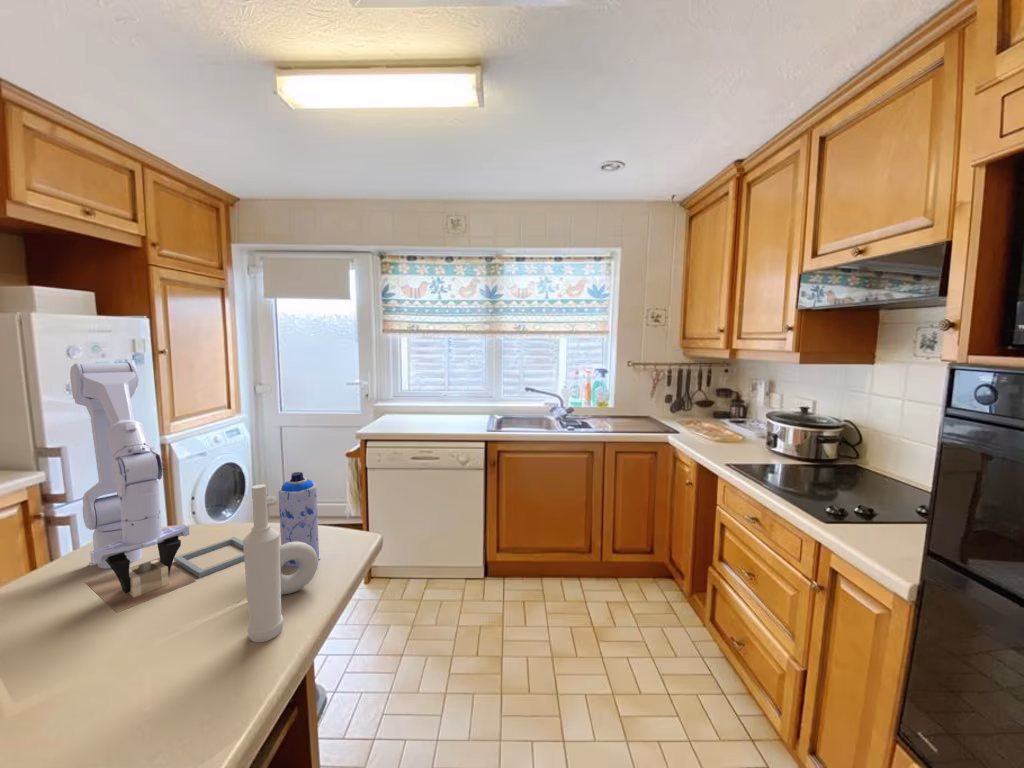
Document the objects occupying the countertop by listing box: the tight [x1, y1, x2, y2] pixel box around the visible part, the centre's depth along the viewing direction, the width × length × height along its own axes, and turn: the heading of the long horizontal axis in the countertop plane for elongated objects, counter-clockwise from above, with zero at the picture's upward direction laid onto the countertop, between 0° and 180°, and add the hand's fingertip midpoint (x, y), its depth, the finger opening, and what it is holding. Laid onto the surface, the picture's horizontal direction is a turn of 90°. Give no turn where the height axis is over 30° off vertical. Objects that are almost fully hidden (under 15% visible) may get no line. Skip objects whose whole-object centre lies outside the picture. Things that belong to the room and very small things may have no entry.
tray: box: [173, 536, 245, 579], centre depth 95 cm, size 12×12×2 cm
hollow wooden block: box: [128, 559, 169, 597], centre depth 83 cm, size 5×5×4 cm
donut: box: [280, 541, 319, 595], centre depth 83 cm, size 10×4×10 cm, turn 127°
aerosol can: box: [278, 471, 320, 569], centre depth 95 cm, size 8×8×20 cm
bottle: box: [242, 483, 284, 643], centre depth 70 cm, size 5×5×25 cm
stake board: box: [84, 557, 197, 613], centre depth 85 cm, size 18×12×6 cm, turn 57°
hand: (146, 583), depth 84 cm, fingers closed on hollow wooden block, 5 cm apart
